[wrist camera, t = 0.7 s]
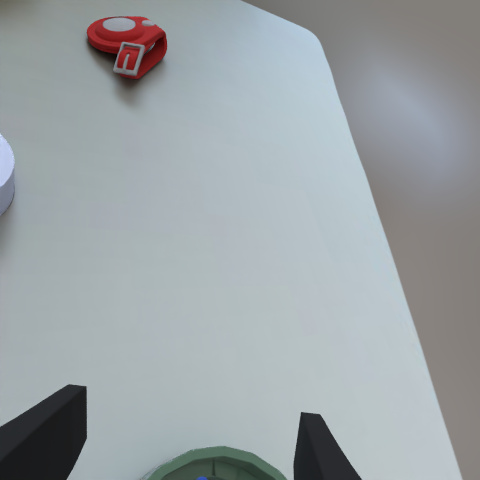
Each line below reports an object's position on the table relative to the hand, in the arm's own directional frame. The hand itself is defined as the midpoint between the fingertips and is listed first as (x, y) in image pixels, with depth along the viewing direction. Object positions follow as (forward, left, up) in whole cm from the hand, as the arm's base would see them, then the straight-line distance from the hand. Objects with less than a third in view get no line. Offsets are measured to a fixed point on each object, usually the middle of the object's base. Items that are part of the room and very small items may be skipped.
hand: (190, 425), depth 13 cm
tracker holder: (+44, +13, -16) cm, 49 cm away
